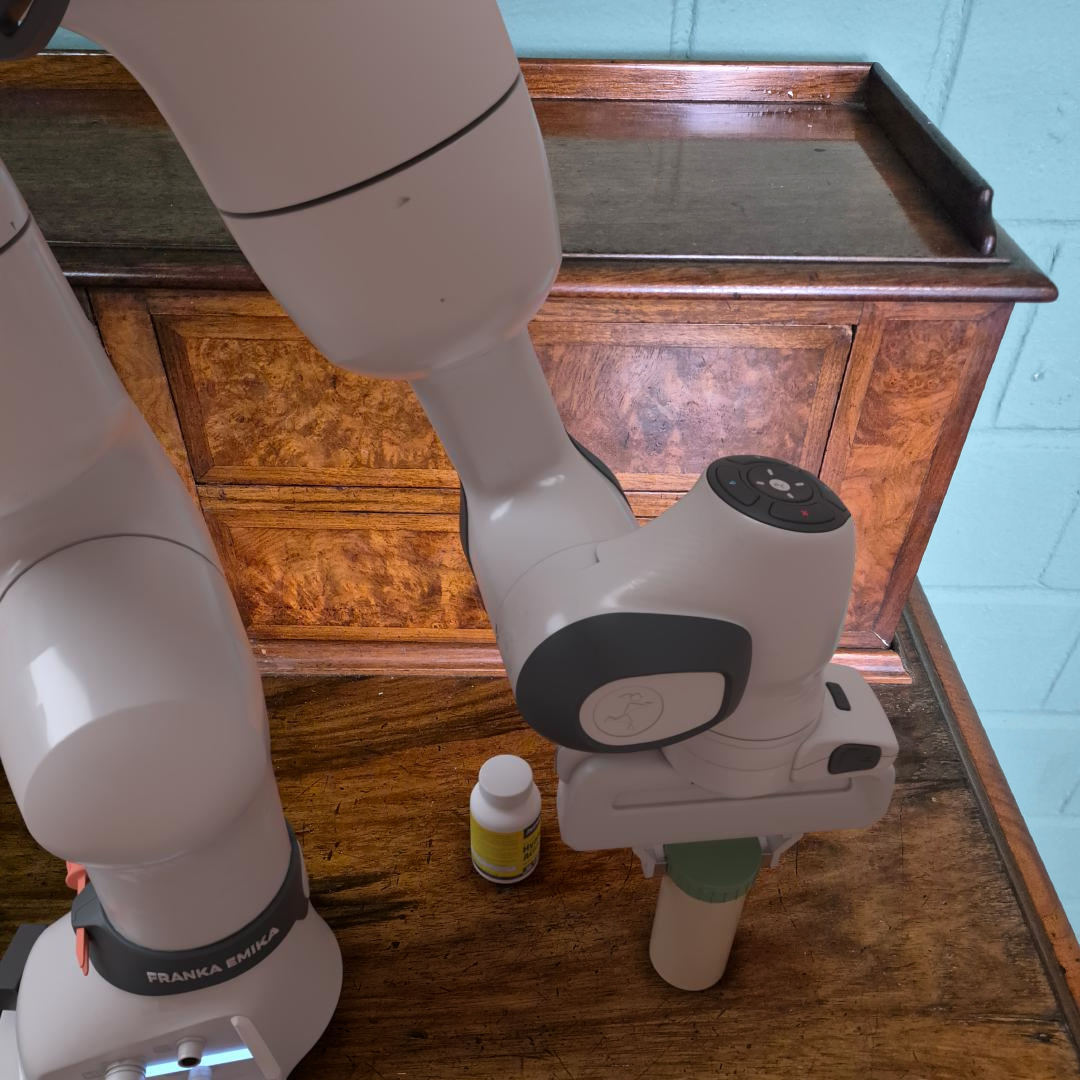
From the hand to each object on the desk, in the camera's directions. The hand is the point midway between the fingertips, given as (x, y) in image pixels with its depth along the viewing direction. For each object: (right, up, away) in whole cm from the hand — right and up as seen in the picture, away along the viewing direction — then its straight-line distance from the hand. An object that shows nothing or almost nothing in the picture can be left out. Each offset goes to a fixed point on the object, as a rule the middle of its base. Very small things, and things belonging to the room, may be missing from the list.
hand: (708, 863), depth 62 cm
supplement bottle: (-14, -4, +13) cm, 19 cm away
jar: (0, -9, +6) cm, 11 cm away
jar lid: (0, +1, -1) cm, 2 cm away
